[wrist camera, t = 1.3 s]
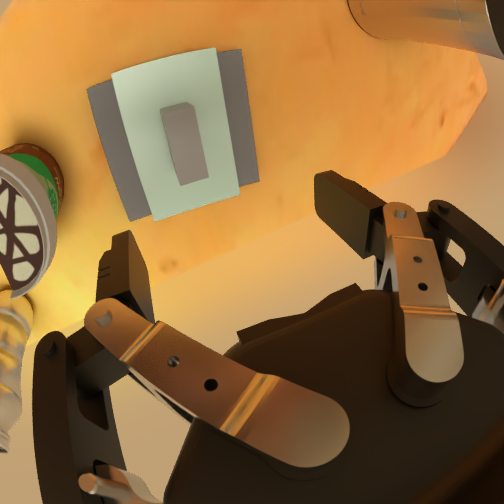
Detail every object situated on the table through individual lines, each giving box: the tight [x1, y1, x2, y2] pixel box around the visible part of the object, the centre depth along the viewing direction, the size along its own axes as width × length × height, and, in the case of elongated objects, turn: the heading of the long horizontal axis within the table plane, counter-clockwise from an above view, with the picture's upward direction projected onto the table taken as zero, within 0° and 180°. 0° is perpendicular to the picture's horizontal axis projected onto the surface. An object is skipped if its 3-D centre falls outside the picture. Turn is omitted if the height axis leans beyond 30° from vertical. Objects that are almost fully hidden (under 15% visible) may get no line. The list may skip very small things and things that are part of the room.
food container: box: [0, 143, 64, 299], centre depth 18 cm, size 12×6×10 cm, turn 176°
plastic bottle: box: [0, 289, 33, 454], centre depth 20 cm, size 6×7×20 cm
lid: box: [111, 47, 240, 222], centre depth 22 cm, size 9×15×5 cm, turn 8°
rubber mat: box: [87, 49, 259, 222], centre depth 24 cm, size 14×14×1 cm
